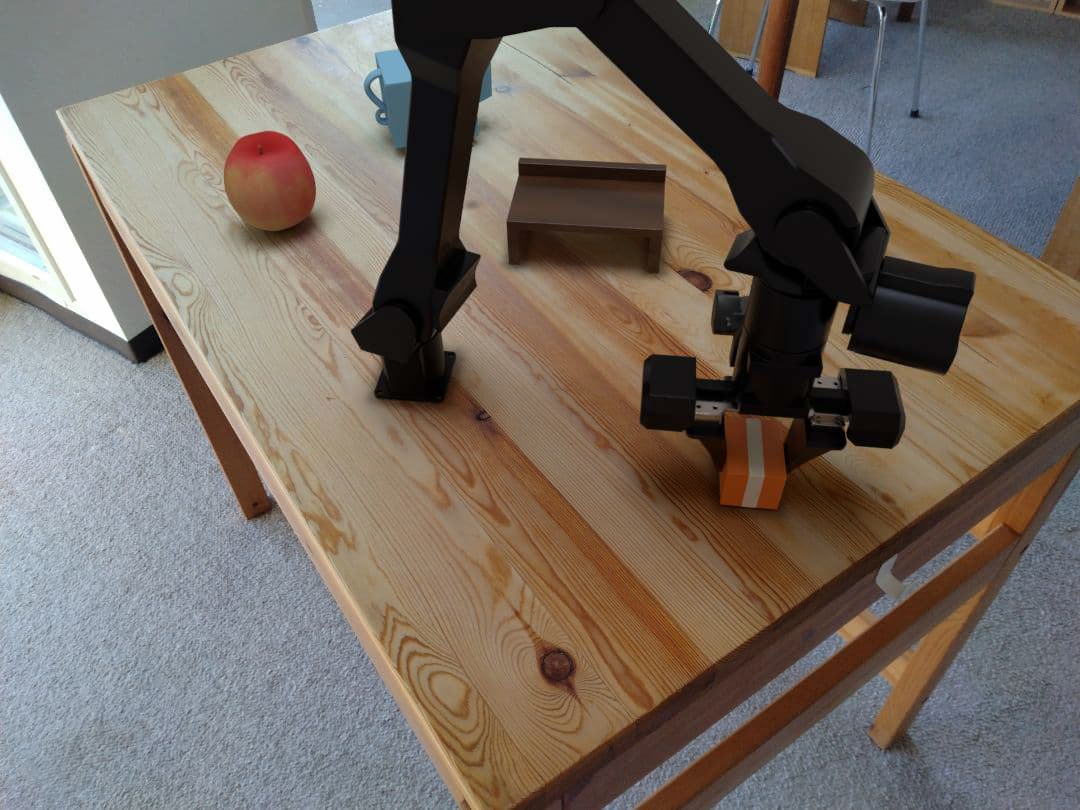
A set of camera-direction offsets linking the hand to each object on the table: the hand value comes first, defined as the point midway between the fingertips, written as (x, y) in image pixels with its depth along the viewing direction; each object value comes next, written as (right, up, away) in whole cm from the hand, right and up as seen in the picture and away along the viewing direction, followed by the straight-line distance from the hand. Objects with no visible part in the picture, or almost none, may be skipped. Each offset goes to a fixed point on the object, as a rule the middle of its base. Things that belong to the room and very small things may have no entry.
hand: (749, 470), depth 69 cm
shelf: (-12, +23, +24) cm, 36 cm away
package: (0, -1, +1) cm, 1 cm away
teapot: (-31, +41, +42) cm, 66 cm away
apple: (-47, +26, +28) cm, 60 cm away
